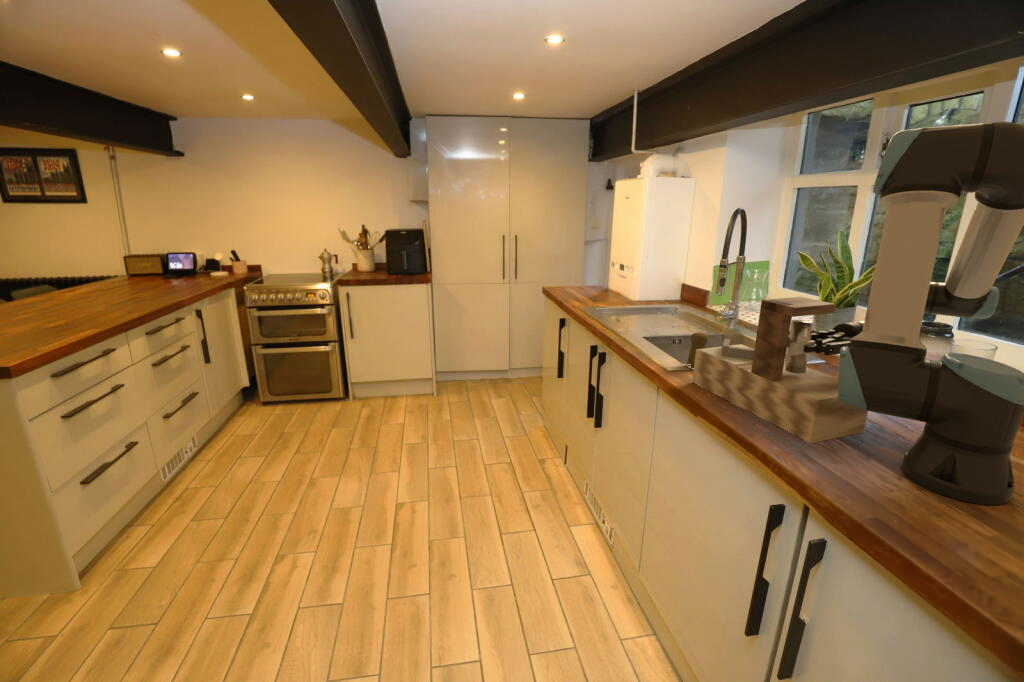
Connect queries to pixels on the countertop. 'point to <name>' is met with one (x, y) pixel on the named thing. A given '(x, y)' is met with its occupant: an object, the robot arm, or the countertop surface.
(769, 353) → the brown wooden l bracket
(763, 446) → the countertop surface
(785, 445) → the countertop surface
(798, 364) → the axle
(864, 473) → the countertop surface
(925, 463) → the robot arm
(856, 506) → the countertop surface
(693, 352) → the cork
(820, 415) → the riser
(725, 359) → the v cradle
